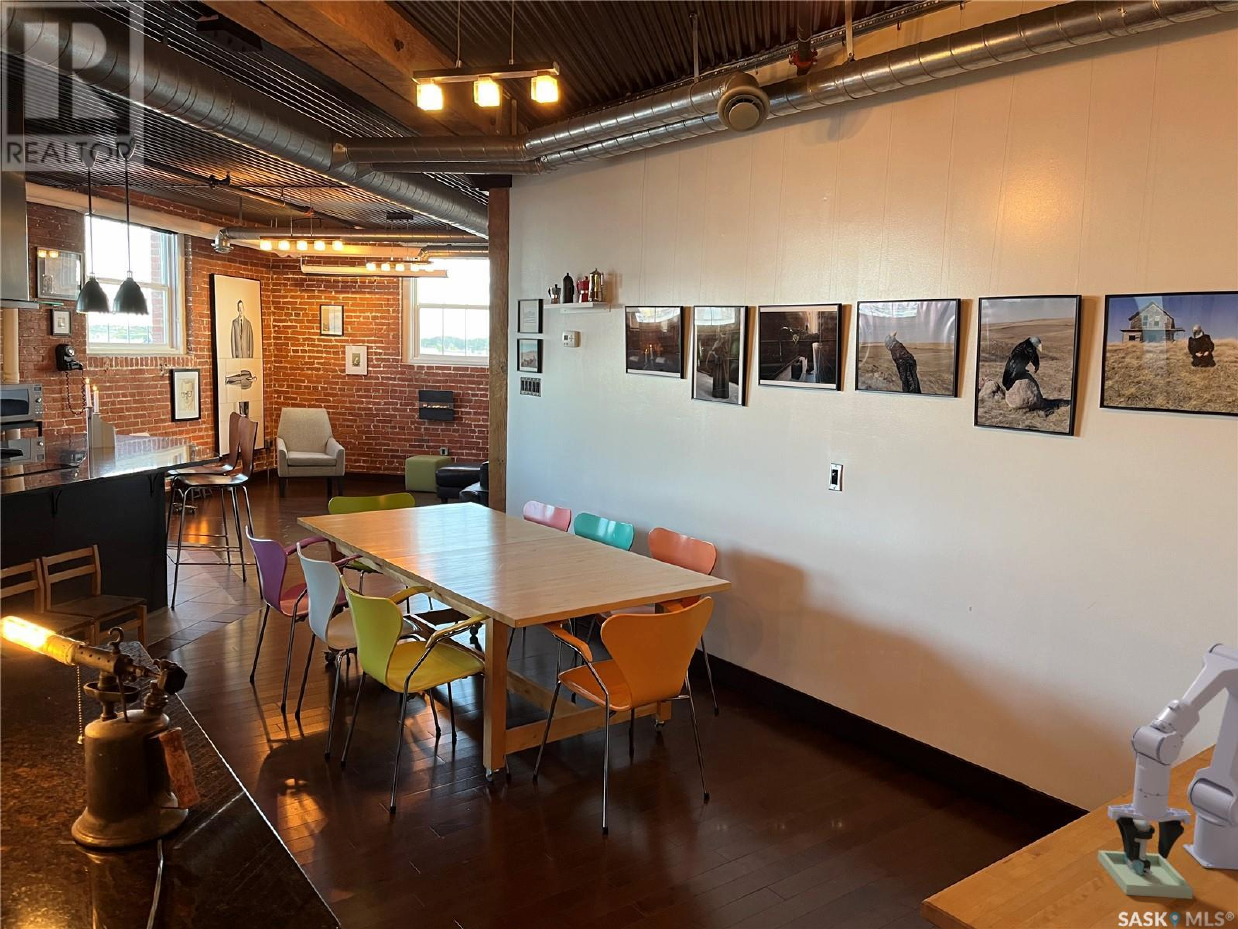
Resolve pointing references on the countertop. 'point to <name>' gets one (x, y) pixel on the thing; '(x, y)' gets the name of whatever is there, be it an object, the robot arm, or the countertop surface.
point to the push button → (1140, 849)
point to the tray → (1132, 883)
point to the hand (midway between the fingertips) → (1145, 855)
